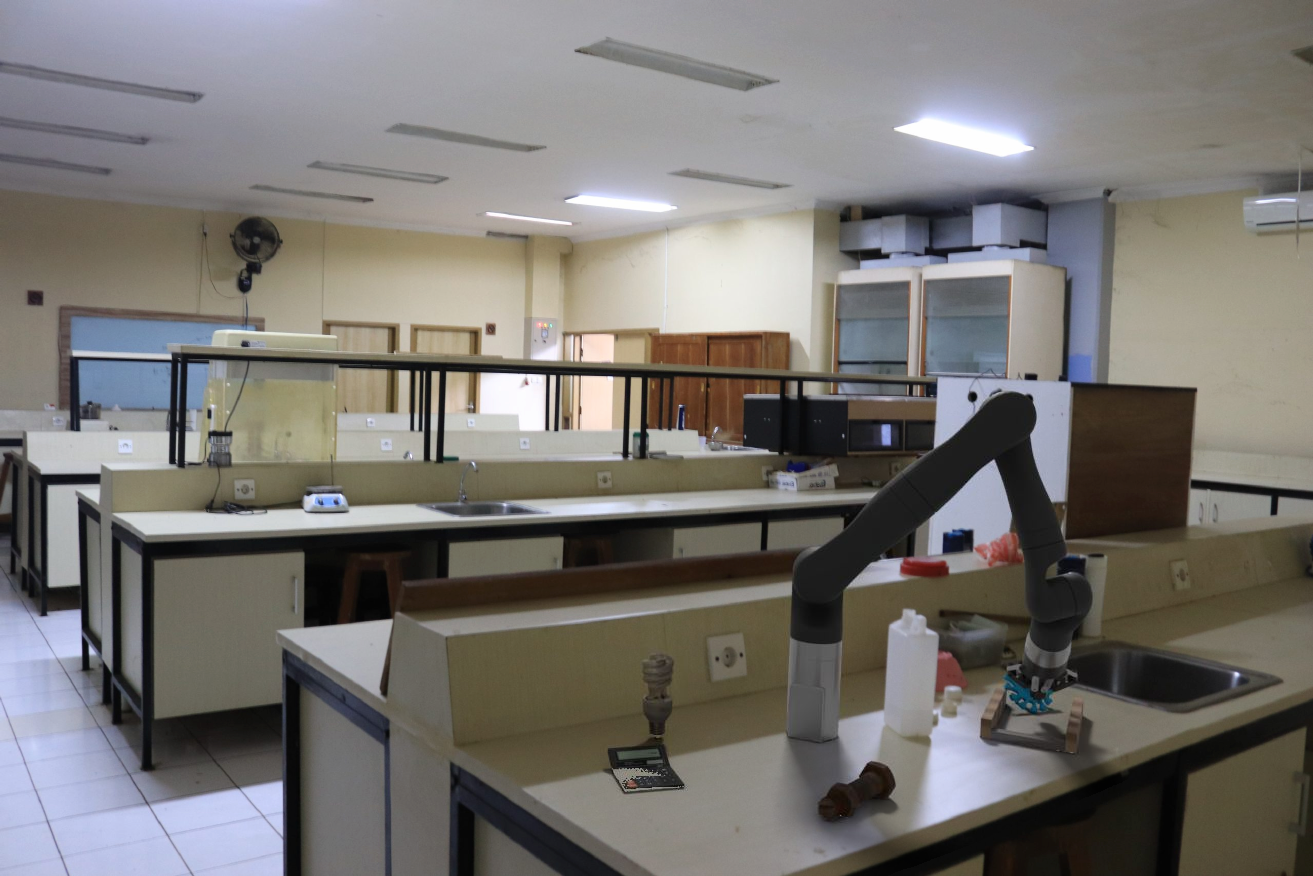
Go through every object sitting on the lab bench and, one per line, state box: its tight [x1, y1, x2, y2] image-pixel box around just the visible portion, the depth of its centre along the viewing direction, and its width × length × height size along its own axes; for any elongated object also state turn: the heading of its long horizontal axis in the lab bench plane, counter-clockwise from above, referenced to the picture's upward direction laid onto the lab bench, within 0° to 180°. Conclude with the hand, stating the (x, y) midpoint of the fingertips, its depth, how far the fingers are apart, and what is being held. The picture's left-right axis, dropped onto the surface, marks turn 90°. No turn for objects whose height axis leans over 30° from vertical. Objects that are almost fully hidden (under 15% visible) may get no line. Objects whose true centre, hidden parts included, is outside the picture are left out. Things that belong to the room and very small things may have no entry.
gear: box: [1003, 673, 1055, 714], centre depth 196 cm, size 11×6×10 cm
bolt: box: [817, 760, 897, 821], centre depth 144 cm, size 6×5×15 cm
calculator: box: [607, 744, 685, 789], centre depth 153 cm, size 9×12×3 cm
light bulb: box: [641, 651, 675, 736], centre depth 170 cm, size 6×6×15 cm
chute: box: [979, 684, 1085, 754], centre depth 184 cm, size 24×16×4 cm, turn 154°
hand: (1036, 696), depth 190 cm, fingers closed
